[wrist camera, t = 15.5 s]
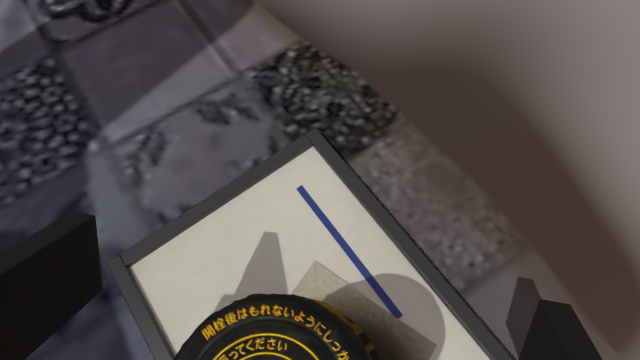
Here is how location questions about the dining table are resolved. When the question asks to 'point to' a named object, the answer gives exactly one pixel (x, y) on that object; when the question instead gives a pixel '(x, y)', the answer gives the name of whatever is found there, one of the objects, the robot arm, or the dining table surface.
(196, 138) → the dining table surface
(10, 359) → the robot arm
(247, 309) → the condiment
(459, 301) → the whiteboard
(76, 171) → the dining table surface
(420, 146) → the dining table surface
